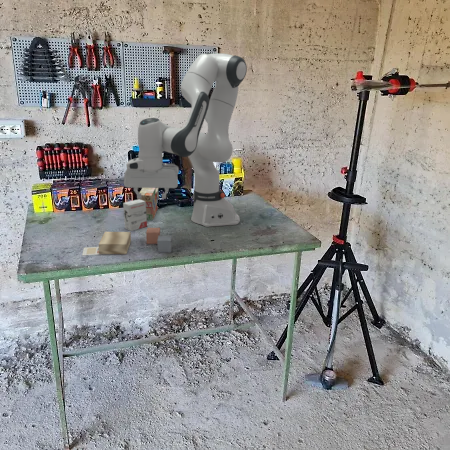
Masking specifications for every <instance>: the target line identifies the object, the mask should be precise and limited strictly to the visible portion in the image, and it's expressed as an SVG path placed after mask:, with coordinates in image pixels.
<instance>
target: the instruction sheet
mask: <svg viewBox="0 0 450 450" xmlns="http://www.w3.org/2000/svg"><path fill="white" fill-rule="evenodd" d="M97 255H101V254H99V246H90V247H89V246H88V247H87V246H86V247H83V251H82V255H81V256H83V257H84V256H97Z"/></svg>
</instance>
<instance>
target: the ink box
mask: <svg viewBox="0 0 450 450" xmlns="http://www.w3.org/2000/svg"><path fill="white" fill-rule="evenodd" d="M122 204H123V205H122V208H123V217H124V218H123V220H124V221H123V223H124V229H125V230H127V231H128V232H132V231H137V230H139V229H140V230H141V229H143V228H148V220H147V216H146V202H145V201H143V200H140V199H134V200H131V201H126V202H123V203H122Z"/></svg>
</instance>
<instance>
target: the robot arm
mask: <svg viewBox="0 0 450 450" xmlns="http://www.w3.org/2000/svg"><path fill="white" fill-rule="evenodd" d="M247 68H248V67H247V63H246V60H245V59H244V58H243V57H241V56H238V55H232V54H229V53H223V52H222V53H213V52H205V53H202V54H199V55H198V56H196V58H195V59H194V60H193V62H192V63H191V64H190V66H189V68H188V69H187V71H186V72H185V74H184V76H183V79H182V81H181V84H180V91H181V92H180V93H181V95H182V96H183V98H184V99H185V101H187V102H188V103H189V104H190V105H191V109H190V112H189V114H188V118H187V120H186V122H185V124H184V126H182V127H180V128H179V127H176V126H171V125H168V124H165V122H162V121H161V120H160V119H159V118H157V117H151V118H144V119H142V120H140V121H139V124H138V126H137V144H138V149H139V150H138V157H135V158H133V159H129V160H128V161H127V162H126V166H125V167H126V170H125V171H124V176H123V185H124V187H125V188H133V191H134V193H135V194H136V198H137V199H136V200H138V199H141V193H140V191H138V190H139V188H140V189H142V188H158V189H164V193H161V199H162V200H167V194H168V193H169V190H170V189H176V188H177V187H178V185H179V184H178V183H179V181H178V180H179V179H178V175H179V172H180V168H179V166H178V165H176V164H175V163H167V162H166V163H164V162H163V152H166V153H169V154H174V155H177V156H179V157H181V158H188V157H189V159H190V162H191V165H192V169H193V173H194V175H193V176H194V189H193V194H192V195H193V197H192V199H193V210H192V214H191V217H190V219H191V221H192V222H193V223H195V224H198V225H202V226H203V227H206V228H208V227H209V228H210V227H221V226H235V225H239V223H240V222H241V218H240V216H239V214H237V213H236V210H235V207H234V205H233V204H232V203H231V202H230V201H228V200H227V199H226V198H225V197H226V194H225V193H224V191H223V190H222V189H220V172H219V170H218V169H217V167H216V166H215V164H214V163H226V162H227V161H229V160H230V158H231V157H232V155H233V153H234V152H233V151H234V149H233V144H232V142H231V141H230V137H229V128H230V127H229V126H230V123H231V119H232V116H233V113H234V109H235V106H236V103H237V99H238V93H239V86H240V85H241V84H242V82H243V81H244V79H245V78H246V76H247V71H248V69H247ZM214 82H215V87H214V88H213V91H212V93H211V95H210V97H209V94H210V91H211V89H212V87H213V85H214ZM204 121H205V122H206V123H207V132H206V133H204V132H201V130H202V127H203V125H204Z"/></svg>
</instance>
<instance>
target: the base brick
mask: <svg viewBox="0 0 450 450" xmlns="http://www.w3.org/2000/svg"><path fill="white" fill-rule="evenodd" d="M131 232H132V231H104V233H103V234H102V237H101V239H100V240H99V242H98V247H99V254H100V255H127V254H128V251H129V248H130V246H131V245H130V244H131V242H132V237H131V236H132V235H131Z"/></svg>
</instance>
